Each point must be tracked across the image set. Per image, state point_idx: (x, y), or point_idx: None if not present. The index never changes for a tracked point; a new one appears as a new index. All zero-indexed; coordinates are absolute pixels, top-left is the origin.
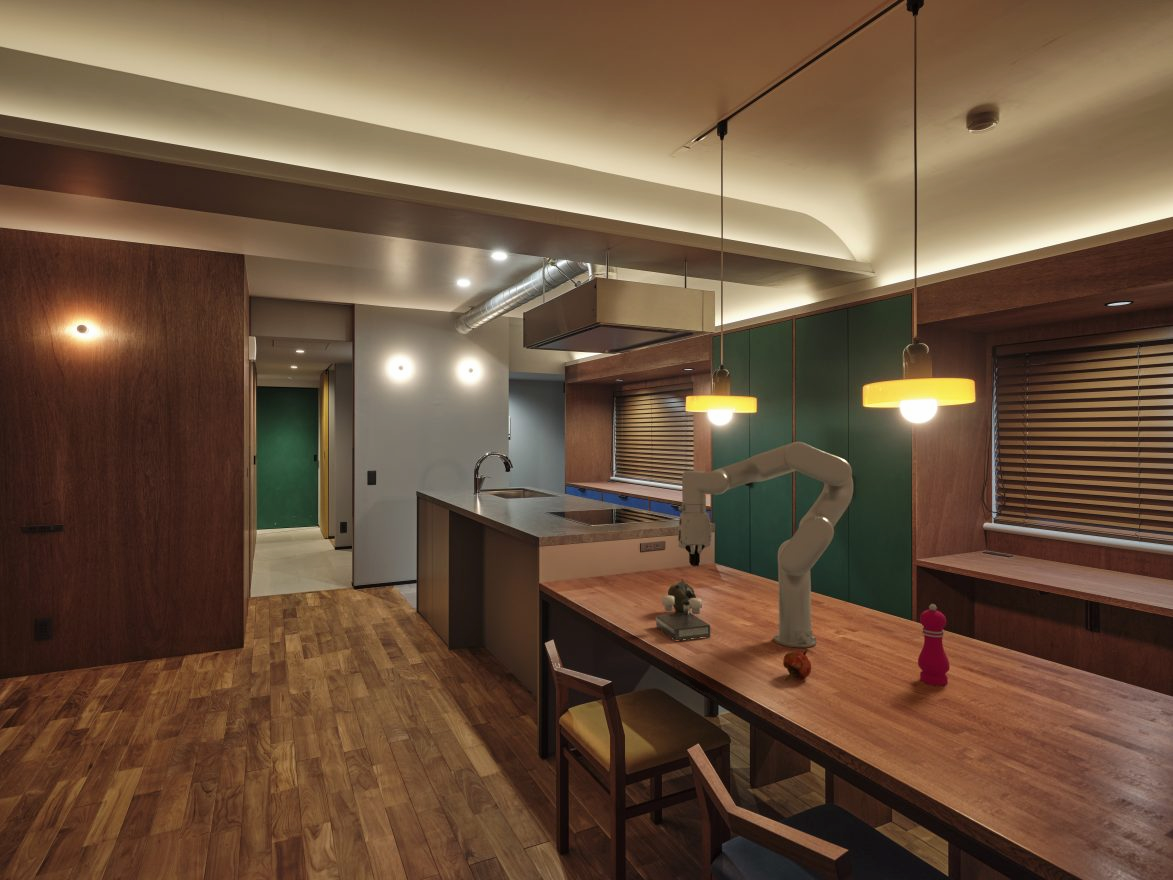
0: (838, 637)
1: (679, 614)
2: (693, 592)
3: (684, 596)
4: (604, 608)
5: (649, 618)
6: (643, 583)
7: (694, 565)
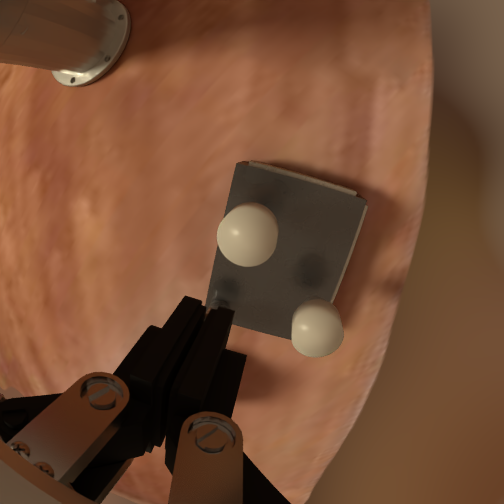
0: None
1: (245, 314)
2: None
3: None
4: (303, 456)
5: (273, 381)
6: (151, 481)
7: (232, 312)
